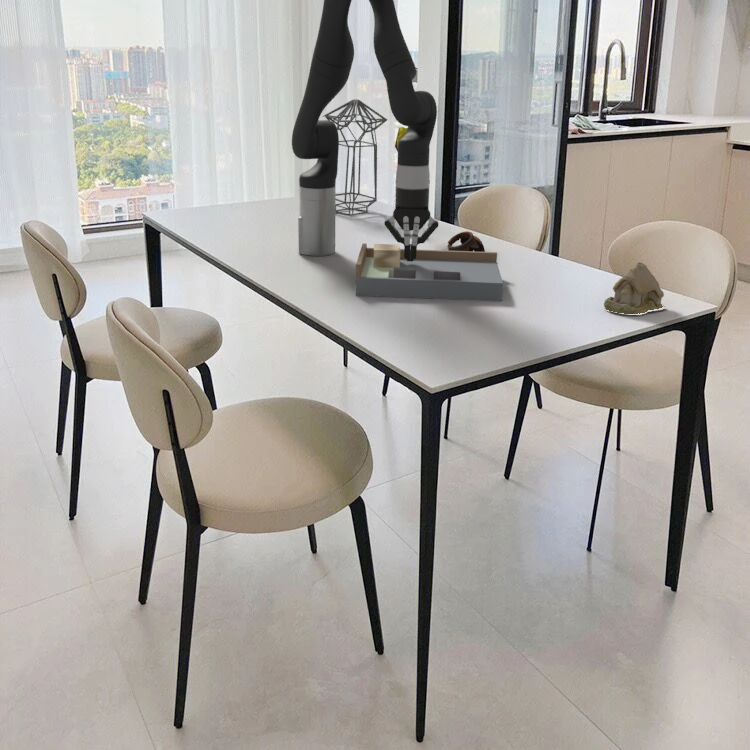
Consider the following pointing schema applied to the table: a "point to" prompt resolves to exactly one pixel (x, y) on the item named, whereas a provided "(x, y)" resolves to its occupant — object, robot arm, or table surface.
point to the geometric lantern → (354, 104)
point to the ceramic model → (635, 292)
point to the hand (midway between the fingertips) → (410, 260)
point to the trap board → (432, 276)
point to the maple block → (387, 255)
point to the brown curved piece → (466, 243)
